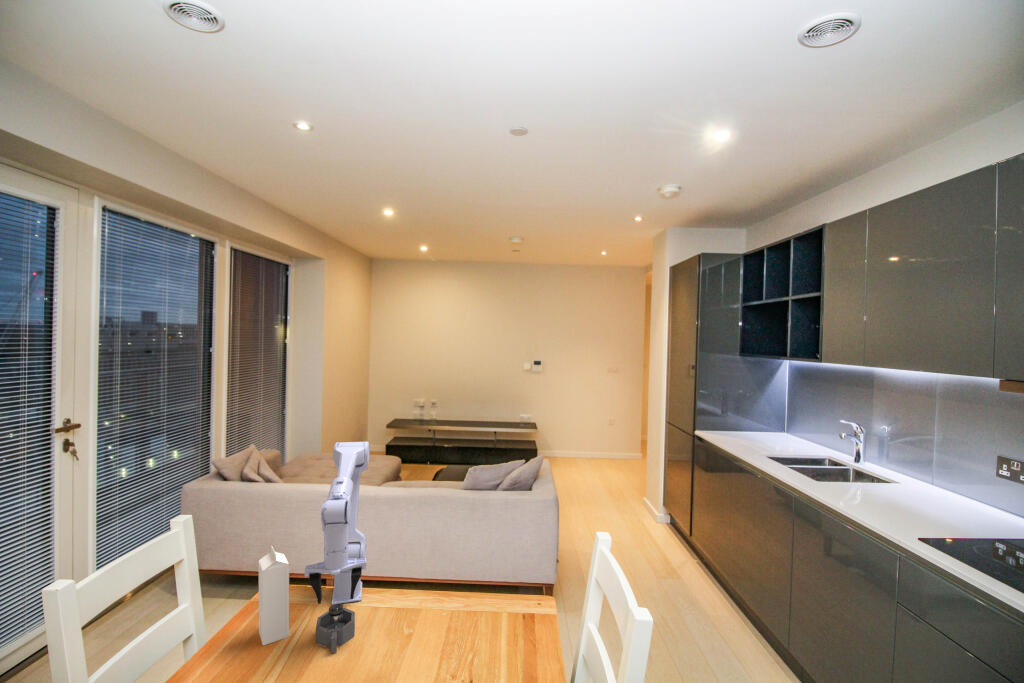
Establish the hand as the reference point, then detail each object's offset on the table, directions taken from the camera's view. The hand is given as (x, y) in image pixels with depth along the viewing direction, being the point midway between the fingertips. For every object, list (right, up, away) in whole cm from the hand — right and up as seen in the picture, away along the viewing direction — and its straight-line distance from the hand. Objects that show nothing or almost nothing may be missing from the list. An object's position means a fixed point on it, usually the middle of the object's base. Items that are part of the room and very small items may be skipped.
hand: (336, 599), depth 119 cm
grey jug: (0, -9, -1) cm, 9 cm away
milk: (-16, -9, 0) cm, 18 cm away
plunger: (0, -9, 0) cm, 9 cm away
